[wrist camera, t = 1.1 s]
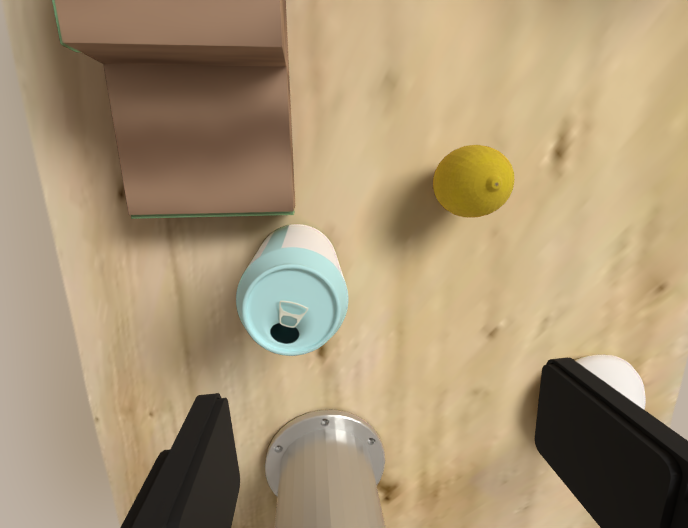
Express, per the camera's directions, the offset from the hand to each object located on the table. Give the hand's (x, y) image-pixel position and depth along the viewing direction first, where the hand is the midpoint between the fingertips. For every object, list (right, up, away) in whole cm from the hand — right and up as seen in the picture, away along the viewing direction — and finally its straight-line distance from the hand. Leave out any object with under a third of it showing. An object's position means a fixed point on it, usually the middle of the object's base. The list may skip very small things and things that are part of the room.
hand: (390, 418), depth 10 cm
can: (-6, +5, +22) cm, 23 cm away
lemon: (+8, +12, +22) cm, 26 cm away
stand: (-12, +19, +17) cm, 28 cm away
